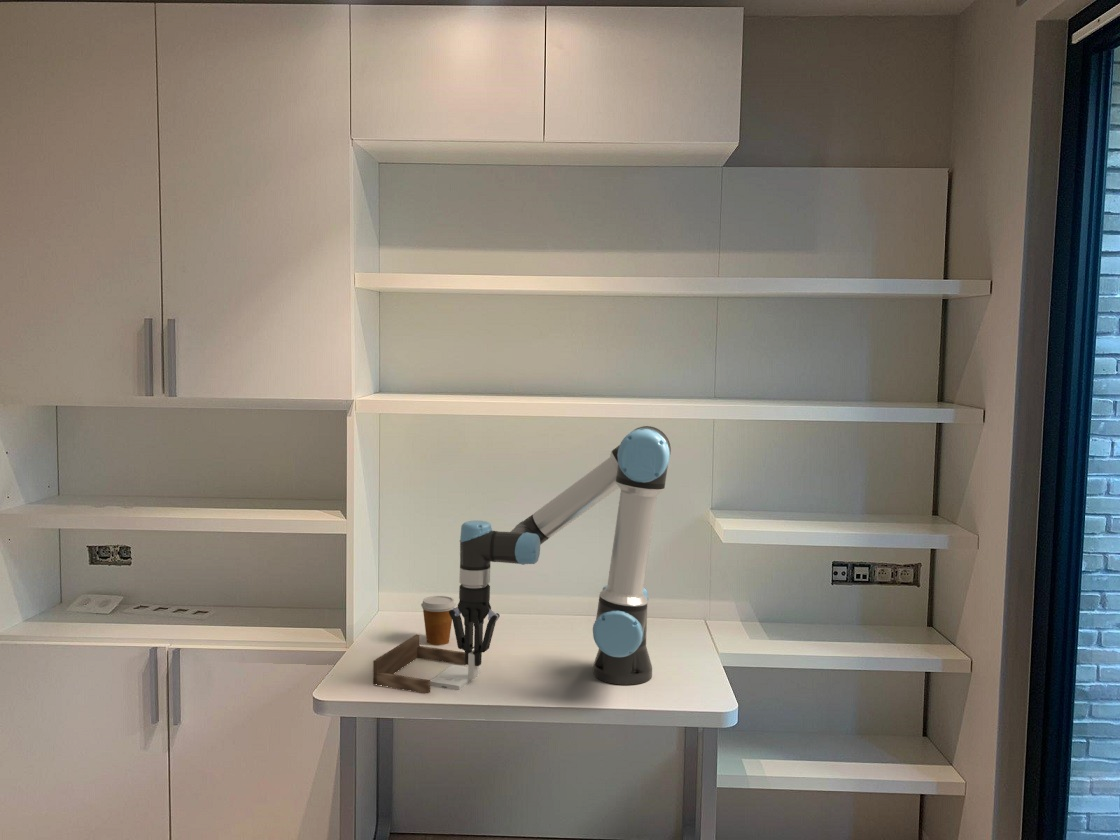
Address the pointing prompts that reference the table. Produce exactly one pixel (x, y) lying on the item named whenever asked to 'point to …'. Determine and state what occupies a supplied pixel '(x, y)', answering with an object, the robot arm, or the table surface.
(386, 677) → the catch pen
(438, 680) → the external hard drive
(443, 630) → the disposable coffee cup
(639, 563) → the robot arm
